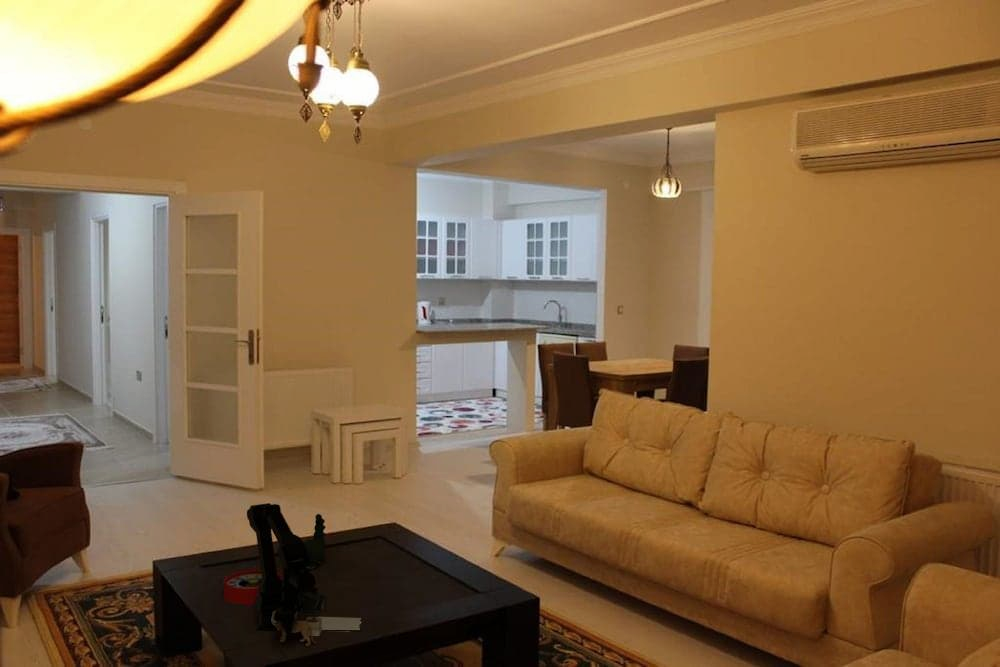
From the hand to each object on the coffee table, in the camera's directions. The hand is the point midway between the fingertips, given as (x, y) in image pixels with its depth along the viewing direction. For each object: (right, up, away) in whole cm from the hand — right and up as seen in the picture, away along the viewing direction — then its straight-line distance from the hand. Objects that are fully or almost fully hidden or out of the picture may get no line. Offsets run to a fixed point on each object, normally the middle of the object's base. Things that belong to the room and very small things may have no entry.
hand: (290, 632), depth 263 cm
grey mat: (+12, -3, +16) cm, 20 cm away
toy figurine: (-9, 0, +76) cm, 77 cm away
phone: (0, -2, +33) cm, 33 cm away
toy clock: (-23, -1, +41) cm, 47 cm away
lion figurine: (0, -3, -1) cm, 3 cm away
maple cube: (+5, -3, +9) cm, 11 cm away
